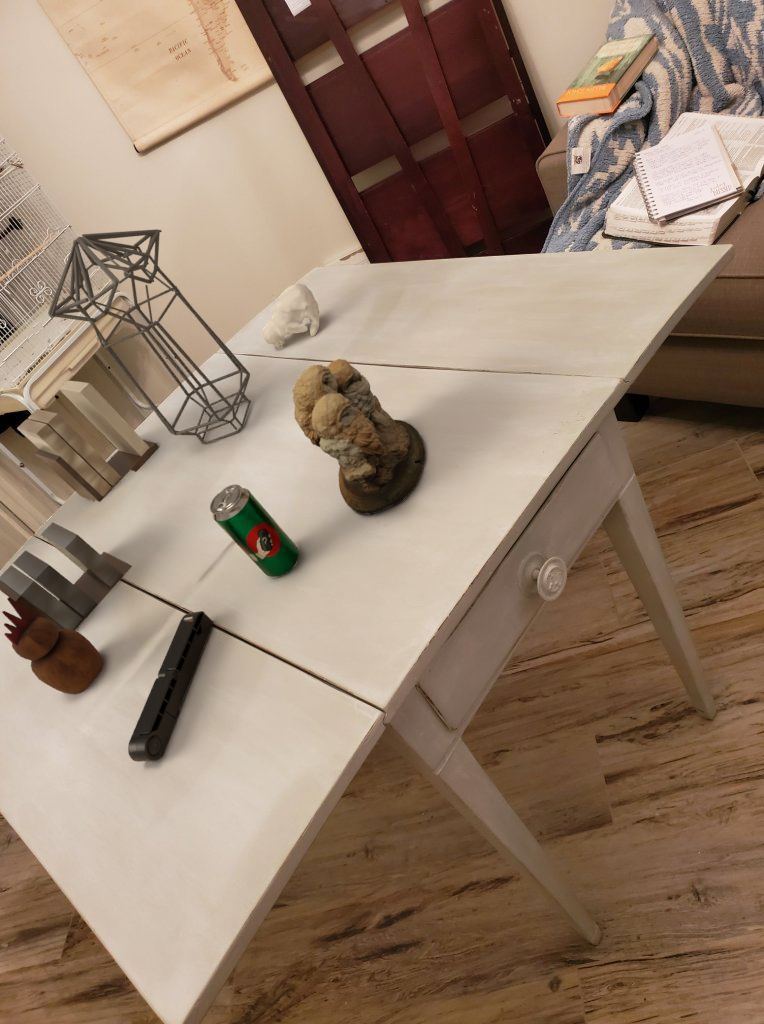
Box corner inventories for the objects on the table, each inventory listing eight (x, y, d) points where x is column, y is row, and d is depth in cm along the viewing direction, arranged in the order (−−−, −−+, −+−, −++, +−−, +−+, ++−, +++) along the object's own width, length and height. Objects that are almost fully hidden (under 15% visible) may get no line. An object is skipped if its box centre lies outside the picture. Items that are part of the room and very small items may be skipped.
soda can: (307, 544, 88) (251, 478, 81) (293, 578, 85) (233, 513, 78) (274, 548, 91) (218, 484, 83) (260, 581, 88) (199, 518, 80)
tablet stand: (159, 765, 75) (140, 753, 73) (141, 766, 76) (122, 753, 74) (216, 621, 87) (200, 607, 85) (199, 623, 88) (184, 609, 86)
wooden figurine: (103, 648, 94) (14, 580, 85) (119, 666, 90) (27, 597, 80) (63, 689, 92) (-32, 625, 83) (78, 710, 88) (-21, 644, 78)
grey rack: (71, 643, 98) (15, 602, 92) (45, 623, 105) (-9, 583, 99) (137, 569, 103) (87, 525, 97) (108, 555, 109) (60, 512, 103)
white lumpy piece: (300, 288, 120) (244, 325, 124) (330, 326, 125) (275, 361, 129) (301, 272, 125) (247, 309, 129) (329, 310, 130) (277, 344, 134)
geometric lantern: (177, 466, 118) (12, 288, 97) (205, 405, 129) (62, 233, 107) (254, 440, 112) (96, 243, 90) (277, 379, 122) (140, 189, 101)
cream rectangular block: (141, 456, 125) (79, 392, 116) (118, 450, 131) (58, 388, 122) (150, 447, 126) (89, 382, 116) (127, 442, 132) (67, 380, 123)
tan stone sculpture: (436, 496, 83) (366, 384, 72) (346, 537, 85) (267, 434, 75) (416, 410, 96) (355, 306, 86) (339, 447, 99) (271, 350, 89)
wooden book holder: (103, 505, 121) (32, 438, 112) (81, 496, 128) (11, 432, 118) (159, 446, 126) (95, 377, 117) (134, 440, 133) (72, 374, 123)
